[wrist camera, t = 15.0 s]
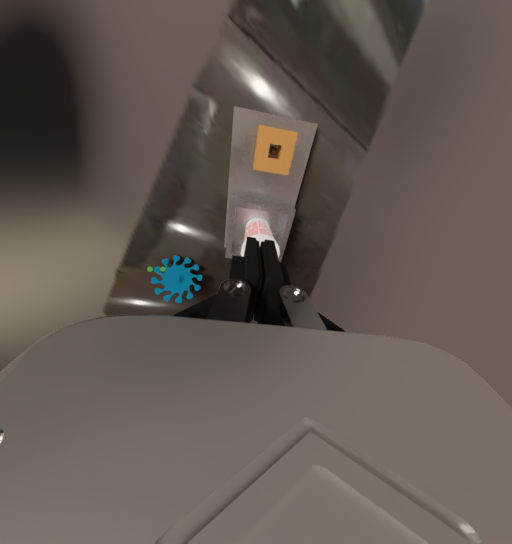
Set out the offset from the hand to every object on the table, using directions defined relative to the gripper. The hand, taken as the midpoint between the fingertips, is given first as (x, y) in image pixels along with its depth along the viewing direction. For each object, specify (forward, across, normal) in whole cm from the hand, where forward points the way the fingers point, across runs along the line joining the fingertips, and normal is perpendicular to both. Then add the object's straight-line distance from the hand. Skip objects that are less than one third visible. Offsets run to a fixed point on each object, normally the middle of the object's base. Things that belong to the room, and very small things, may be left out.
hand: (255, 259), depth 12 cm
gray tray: (+25, -2, +2) cm, 25 cm away
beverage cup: (+24, -3, +8) cm, 26 cm away
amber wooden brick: (+22, -2, -5) cm, 23 cm away
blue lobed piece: (+26, +13, +20) cm, 35 cm away
